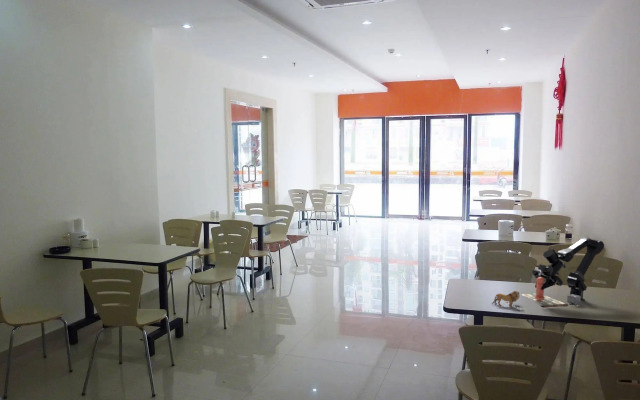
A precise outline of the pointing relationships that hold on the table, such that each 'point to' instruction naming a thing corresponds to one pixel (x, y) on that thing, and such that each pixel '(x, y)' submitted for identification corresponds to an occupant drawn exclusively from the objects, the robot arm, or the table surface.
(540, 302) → the board
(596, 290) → the table surface
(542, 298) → the pawn
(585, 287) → the robot arm
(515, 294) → the lion figurine
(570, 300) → the die
